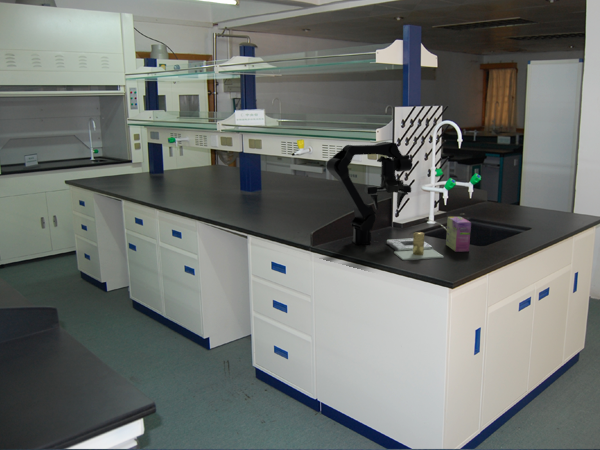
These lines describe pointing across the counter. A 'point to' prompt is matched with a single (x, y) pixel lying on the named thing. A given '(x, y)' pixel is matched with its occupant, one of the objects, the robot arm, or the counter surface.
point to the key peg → (418, 243)
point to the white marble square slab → (405, 244)
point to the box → (458, 234)
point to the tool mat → (410, 256)
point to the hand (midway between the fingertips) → (387, 209)
